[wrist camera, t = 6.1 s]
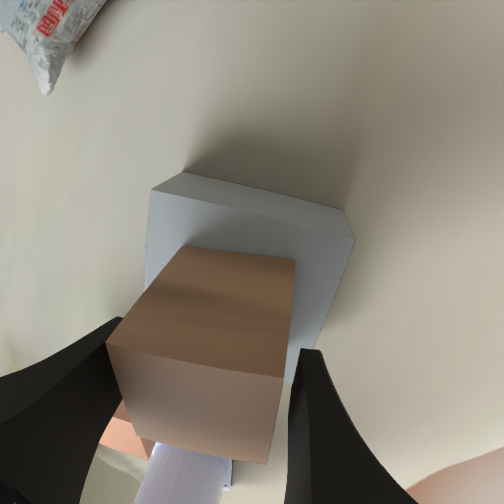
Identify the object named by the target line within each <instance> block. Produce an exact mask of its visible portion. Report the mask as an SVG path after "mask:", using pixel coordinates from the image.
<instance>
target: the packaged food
mask: <svg viewBox="0 0 504 504" xmlns="http://www.w3.org/2000/svg"><path fill="white" fill-rule="evenodd" d="M106 1H107V0H0V32H2V33H3V32H4V31H7V32H8V34H9V35H10V36H11V37H12V38H13V39H14V40H15V41H16V42H17V44H18V45H19V46H20V47H21V49H22V50H23V51H24V52H25V54H26V56H27V58H28V60H29V63H30V65H31V68H32V70H33V73H34V75H35V79H36V81H37V83H38V85H39V88H40V90H41V92H42V94H43V95H46V96H49V95H50V94H51V92H52V91H53V90H54V85H55V84H56V81H57V78H58V77H59V75H60V73H61V69H62V66H63V63H64V61H65V59H66V58H68V57H69V56H70V55H71V53H72V51H73V50H74V48H75V45H76V44H77V43H78V41H79V40H80V38H81V37H82V35H83V33H84V32H85V30H86V29H87V28H88V26H89V25H90V23H91V22H92V20H93V19H94V17H95V16H96V14H97V13H98V11H99V10H100V9H101V7H102V6H103V5H104V3H105V2H106Z"/></svg>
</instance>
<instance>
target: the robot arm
mask: <svg viewBox="0 0 504 504" xmlns="http://www.w3.org/2000/svg"><path fill="white" fill-rule="evenodd" d="M122 320H123V318H122V317H118V316H117V317H115V318H114V319H112V320H110V321H108V322H107V323H105V324H104V325H102V326H100V327H99V328H97V329H96V330H94V331H92V332H91V333H89V334H88V335H86V336H84V337H83V338H81V339H79V340H78V341H76V342H75V343H73V344H71V345H70V346H68V347H66V348H64V349H62V350H61V351H59V352H57V353H55V354H54V355H52V356H50V357H48V358H46V359H44V360H42V361H40V362H38V363H36V364H34V365H31V366H29V367H27V368H25V369H22V370H20V371H17V372H14V373H11V374H8V375H5V376H2V377H0V504H79V502H80V497H81V494H82V490H83V486H84V483H85V480H86V477H87V474H88V471H89V468H90V465H91V462H92V459H93V457H94V454H95V452H96V449H97V447H98V444H99V442H100V439H101V437H102V435H103V433H104V431H105V429H106V427H107V426H108V424H109V422H110V420H111V419H112V417H113V415H114V413H115V412H116V410H117V408H118V406H119V405H120V403H121V401H122V399H123V398H122V395H121V392H120V389H119V386H118V383H117V380H116V377H115V374H114V371H113V367H112V364H111V361H110V357H109V354H108V350H107V347H106V343H105V342H106V341H107V339H108V338H109V337H110V335H111V334H112V333H113V331H114V330H115V329H116V327H117V326H118V325H119V324H120V322H121V321H122ZM152 455H153V457H152V459H151V462H150V464H149V466H148V469H147V471H146V474H145V476H144V479H143V481H142V484H141V486H140V489H139V491H138V494H137V496H136V499H135V501H134V504H219V502H220V498H221V494H222V490H230V488H231V473H232V459H228V458H222V457H217V456H212V455H207V454H203V453H198V452H194V451H190V450H186V449H181V448H178V447H174V446H170V445H166V444H163V443H159V442H156V444H155V446H154V448H153V451H152ZM284 504H418V503H417V502H416V501H415V500H414V499H413V498H411V496H410V495H409V494H408V493H407V492H406V491H405V490H404V489H403V488H402V487H401V486H400V485H399V484H398V483H397V482H396V481H395V480H394V479H393V478H392V476H391V475H390V474H389V473H388V472H387V471H386V469H385V468H384V467H383V466H382V465H381V464H380V462H379V461H378V460H377V458H376V457H375V456H374V454H373V453H372V452H371V450H370V449H369V448H368V446H367V445H366V443H365V442H364V440H363V439H362V437H361V436H360V434H359V433H358V431H357V429H356V428H355V426H354V424H353V422H352V421H351V419H350V417H349V415H348V413H347V412H346V410H345V408H344V406H343V404H342V402H341V400H340V398H339V395H338V393H337V391H336V389H335V387H334V385H333V382H332V380H331V377H330V375H329V373H328V370H327V367H326V364H325V362H324V359H323V355H322V353H321V351H320V350H314V349H305V348H300V353H299V357H298V362H297V366H296V371H295V375H294V380H293V384H292V388H291V395H290V404H289V413H288V473H287V485H286V493H285V500H284Z"/></svg>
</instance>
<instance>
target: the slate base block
mask: <svg viewBox="0 0 504 504" xmlns="http://www.w3.org/2000/svg"><path fill="white" fill-rule="evenodd" d="M355 240H356V239H355V237H354V234H353V232H352V229H351V227H350V224H349V222H348V219H347V217H346V215H345V212H344V211H343V210H339V209H336V208H332V207H328V206H325V205H321V204H317V203H313V202H310V201H306V200H302V199H298V198H294V197H290V196H286V195H282V194H278V193H274V192H270V191H266V190H262V189H258V188H253V187H249V186H245V185H241V184H236V183H232V182H227V181H223V180H218V179H214V178H209V177H204V176H200V175H195V174H190V173H185V172H181V173H179V174H177V175H176V176H174V177H172V178H170V179H168V180H167V181H165V182H163V183H162V184H160V185H158V186H156V187H155V188H153V189H151V192H150V202H149V213H148V225H147V238H146V253H145V273H144V292H145V290H146V289H147V288H148V287H149V285H150V284H151V283H152V282H153V280H154V279H155V278H156V277H157V275H158V274H159V273H160V272H161V270H162V269H163V268H164V267H165V266H166V264H167V263H168V262H169V261H170V260H171V258H172V257H173V256H174V255H175V253H176V252H177V251H178V250H179V249H180V247H181V246H186V247H194V248H202V249H210V250H219V251H227V252H235V253H243V254H252V255H260V256H268V257H276V258H285V259H293V260H296V265H295V277H294V288H293V299H292V310H291V320H290V329H289V339H288V348H287V357H286V366H285V374H284V381H283V382H287V383H292V384H293V380H294V375H295V371H296V366H297V362H298V357H299V353H300V348H305V349H313V348H314V345H315V343H316V341H317V338H318V336H319V333H320V331H321V329H322V326H323V324H324V321H325V319H326V317H327V314H328V312H329V309H330V307H331V304H332V302H333V299H334V297H335V294H336V291H337V289H338V286H339V284H340V281H341V278H342V276H343V273H344V270H345V268H346V265H347V262H348V259H349V257H350V254H351V251H352V248H353V245H354V243H355Z"/></svg>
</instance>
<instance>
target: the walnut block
mask: <svg viewBox="0 0 504 504" xmlns="http://www.w3.org/2000/svg"><path fill="white" fill-rule="evenodd" d="M295 265H296V260H293V259H285V258H276V257H268V256H260V255H252V254H243V253H235V252H227V251H219V250H210V249H202V248H194V247H186V246H181V247H180V249H179V250H178V251H177V252H176V253H175V255H174V256H173V257H172V258H171V260H170V261H169V262H168V263H167V264H166V266H165V267H164V268H163V269H162V270H161V272H160V273H159V274H158V275H157V277H156V278H155V279H154V280H153V282H152V283H151V284H150V285H149V287H148V288H147V289H146V290H145V292H144V293H143V294H142V295H141V297H140V298H139V299H138V300H137V302H136V303H135V304H134V305H133V307H132V308H131V309H130V311H129V312H128V313H127V314H126V316H125V317H124V318H123V320H122V321H121V322H120V324H119V325H118V326H117V327H116V329H115V330H114V331H113V333H112V334H111V335H110V337H109V338H108V339H107V341H106V342H105V343H106V347H107V350H108V354H109V357H110V361H111V364H112V367H113V371H114V374H115V377H116V380H117V383H118V386H119V389H120V392H121V395H122V398H123V401H124V404H125V406H126V409H127V412H128V415H129V417H130V420H131V423H132V425H133V428H134V430H135V433H136V435H137V436H139V437H142V438H145V439H149V440H152V441H156V442H159V443H163V444H166V445H170V446H174V447H178V448H181V449H186V450H190V451H194V452H198V453H203V454H207V455H212V456H217V457H222V458H228V459H233V460H239V461H245V462H251V463H258V464H267V459H268V455H269V450H270V446H271V441H272V436H273V431H274V427H275V422H276V417H277V412H278V407H279V402H280V397H281V392H282V386H283V381H284V374H285V366H286V357H287V348H288V339H289V329H290V320H291V310H292V299H293V288H294V277H295Z"/></svg>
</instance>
